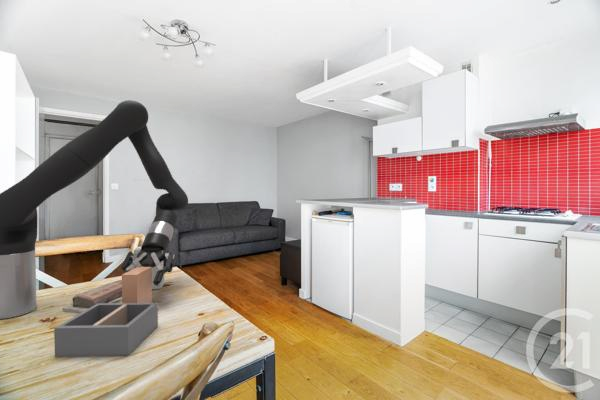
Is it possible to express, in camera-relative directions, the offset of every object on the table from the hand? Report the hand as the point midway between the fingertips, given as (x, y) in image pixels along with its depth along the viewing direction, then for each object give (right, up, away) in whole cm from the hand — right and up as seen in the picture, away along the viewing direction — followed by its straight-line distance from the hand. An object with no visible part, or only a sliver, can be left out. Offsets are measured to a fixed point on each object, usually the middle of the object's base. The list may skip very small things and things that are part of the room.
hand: (140, 284), depth 82 cm
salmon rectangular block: (0, -8, -1) cm, 8 cm away
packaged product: (-15, -8, +7) cm, 19 cm away
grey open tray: (+2, -8, -16) cm, 18 cm away
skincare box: (-8, -7, +20) cm, 22 cm away
